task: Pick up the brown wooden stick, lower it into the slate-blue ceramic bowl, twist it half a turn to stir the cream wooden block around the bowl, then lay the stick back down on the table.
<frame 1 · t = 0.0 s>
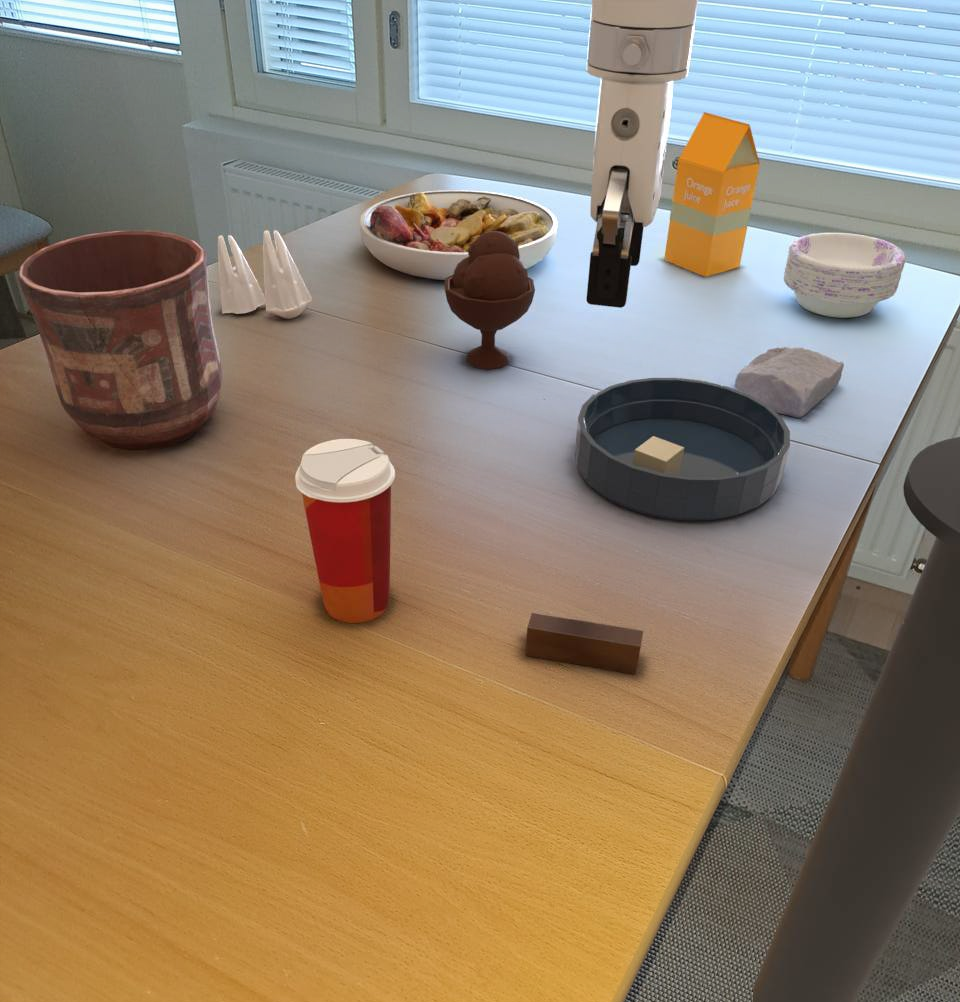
hand: (613, 283, 81), 21 cm above the table, tool pointing down, fingers open, 9 cm apart
brown wooden stick: (582, 657, 77), on the table
shaker set: (268, 315, 128), on the table
bowl 2: (458, 254, 147), on the table
paper bowls: (832, 307, 133), on the table
stone block: (782, 392, 113), on the table
ice cream bowl: (487, 361, 118), on the table
orange juice: (701, 264, 145), on the table
pottery: (152, 426, 104), on the table
paper cup: (356, 604, 82), on the table
block: (654, 479, 96), point 1 cm above the table, touching bowl
bowl: (675, 467, 99), on the table
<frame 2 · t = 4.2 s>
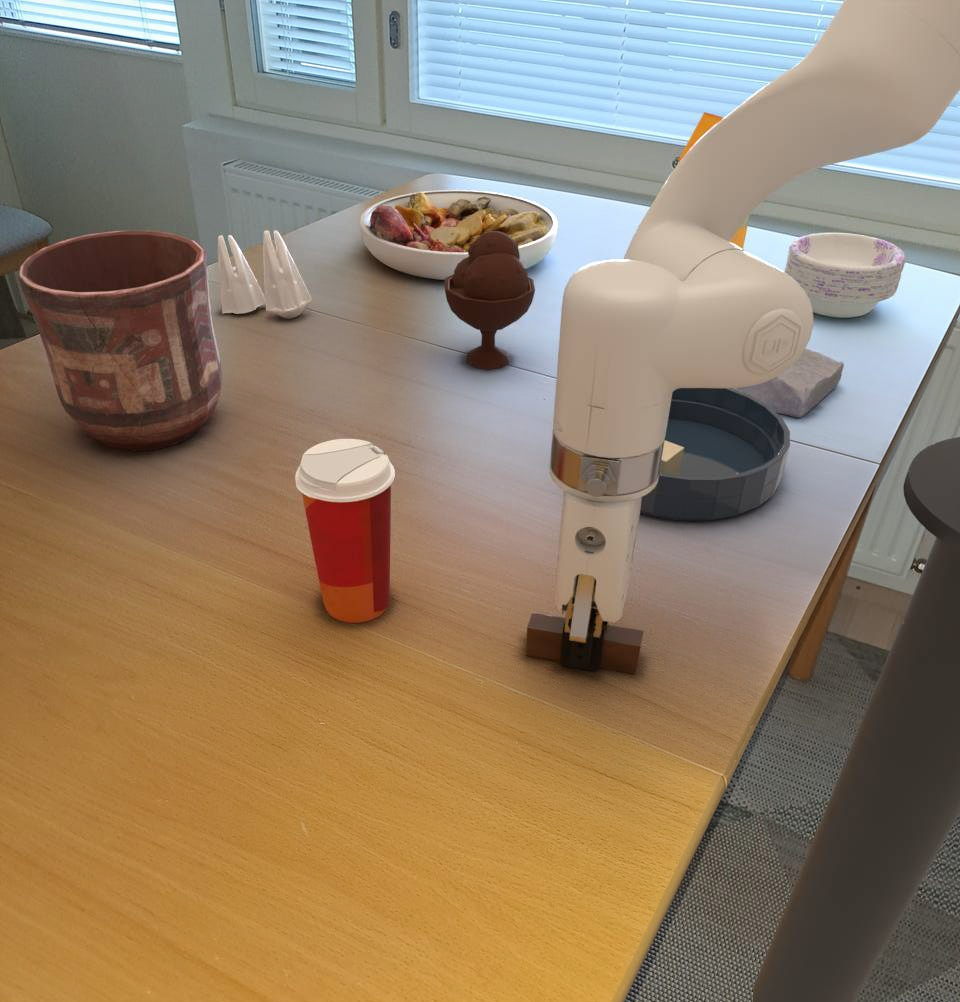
hand: (582, 653, 76), 0 cm above the table, tool pointing down, fingers closed on brown wooden stick, 2 cm apart
brown wooden stick: (582, 656, 77), on the table, touching gripper
everything else where it was.
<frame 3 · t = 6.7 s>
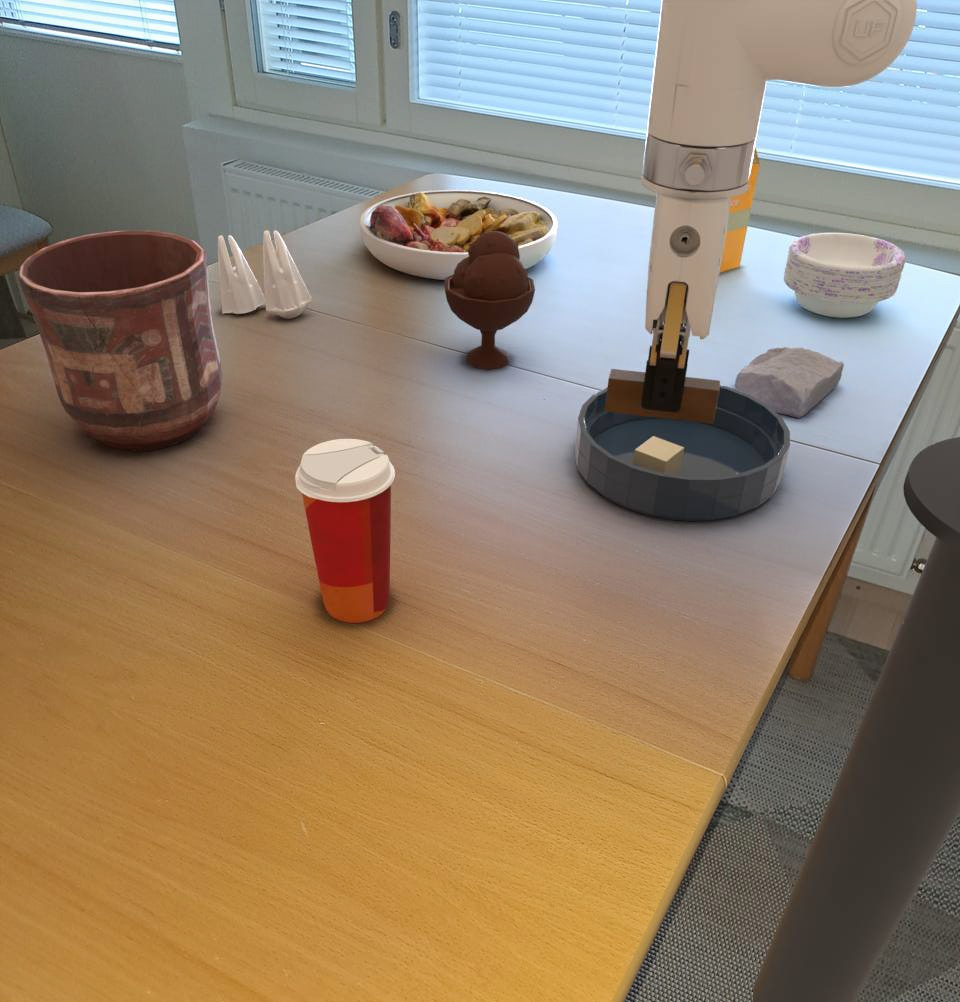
hand: (661, 399, 79), 15 cm above the table, tool pointing down, fingers closed on brown wooden stick
brown wooden stick: (659, 412, 79), point 14 cm above the table, touching gripper
everything else where it was.
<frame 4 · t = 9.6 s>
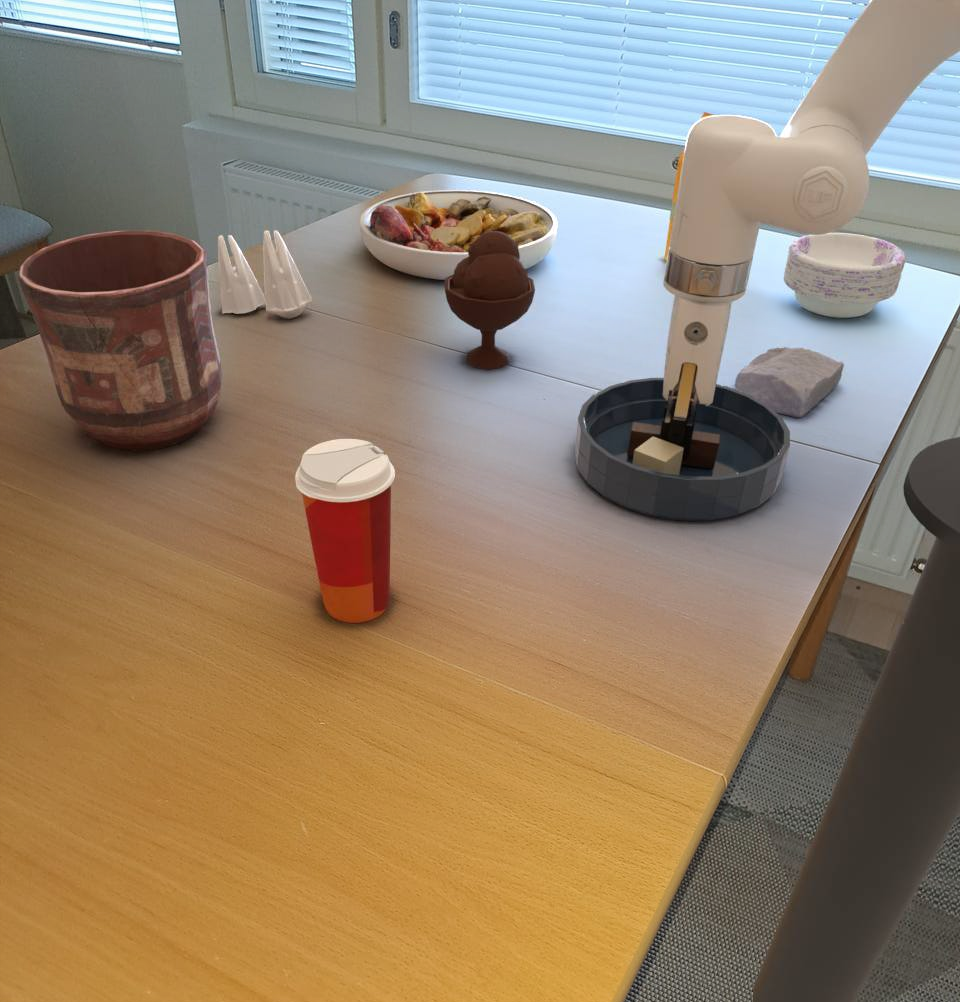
hand: (673, 448, 98), 2 cm above the table, tool pointing down, fingers closed on brown wooden stick, 2 cm apart
brown wooden stick: (670, 458, 99), point 1 cm above the table, touching gripper
block: (654, 479, 96), point 1 cm above the table, touching bowl, gripper
everything else where it was.
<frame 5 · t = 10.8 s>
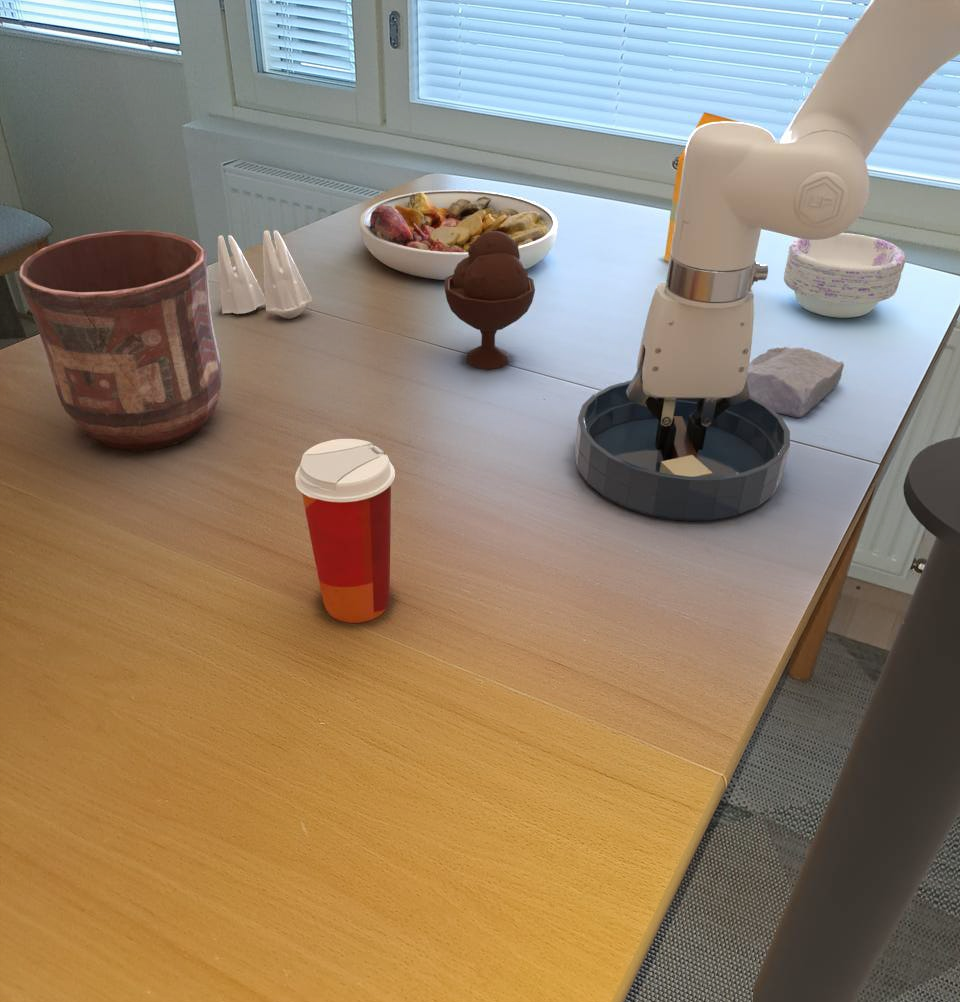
hand: (677, 453, 98), 2 cm above the table, tool pointing down, fingers closed on brown wooden stick, 2 cm apart
brown wooden stick: (675, 462, 99), point 1 cm above the table, touching gripper
block: (680, 498, 94), point 1 cm above the table, touching bowl
everything else where it was.
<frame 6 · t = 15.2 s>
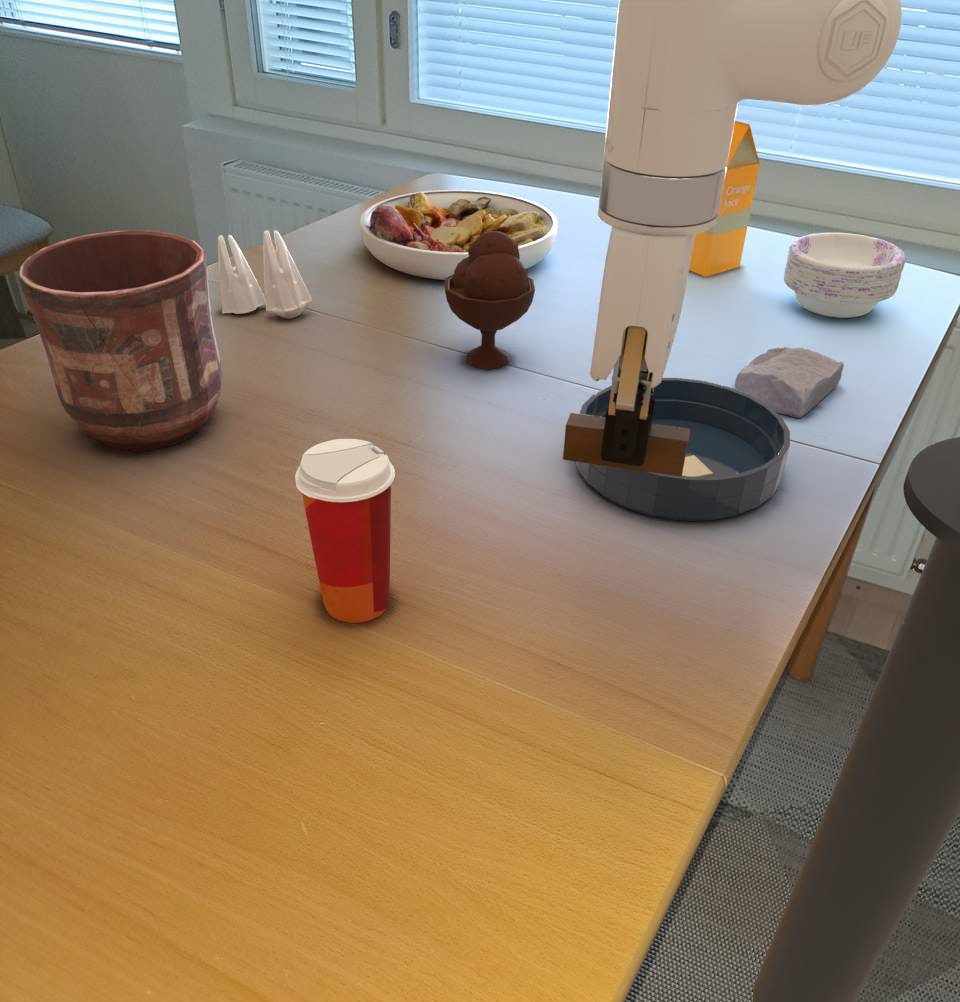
hand: (624, 451, 71), 15 cm above the table, tool pointing down, fingers closed on brown wooden stick
brown wooden stick: (623, 462, 72), point 15 cm above the table, touching gripper
everything else where it was.
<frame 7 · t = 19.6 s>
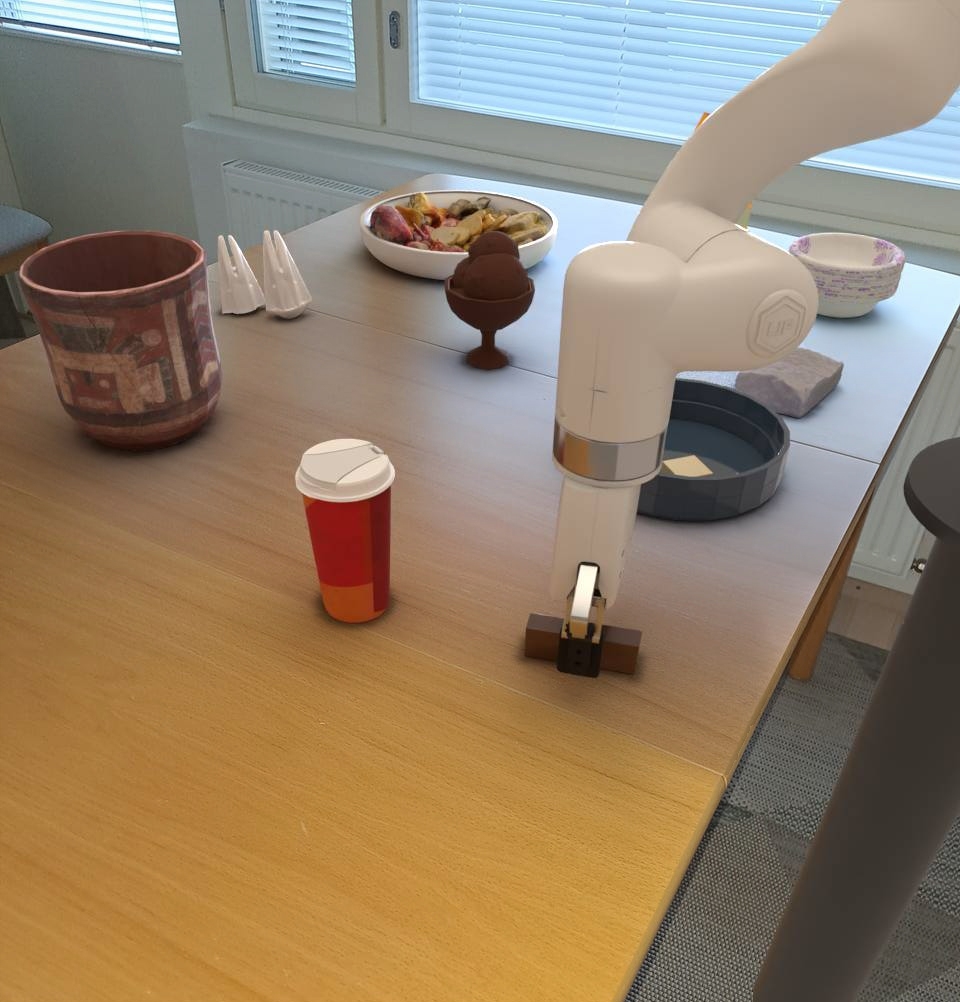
hand: (587, 631, 75), 3 cm above the table, tool pointing down, fingers open, 9 cm apart
brown wooden stick: (580, 657, 77), on the table
everything else where it was.
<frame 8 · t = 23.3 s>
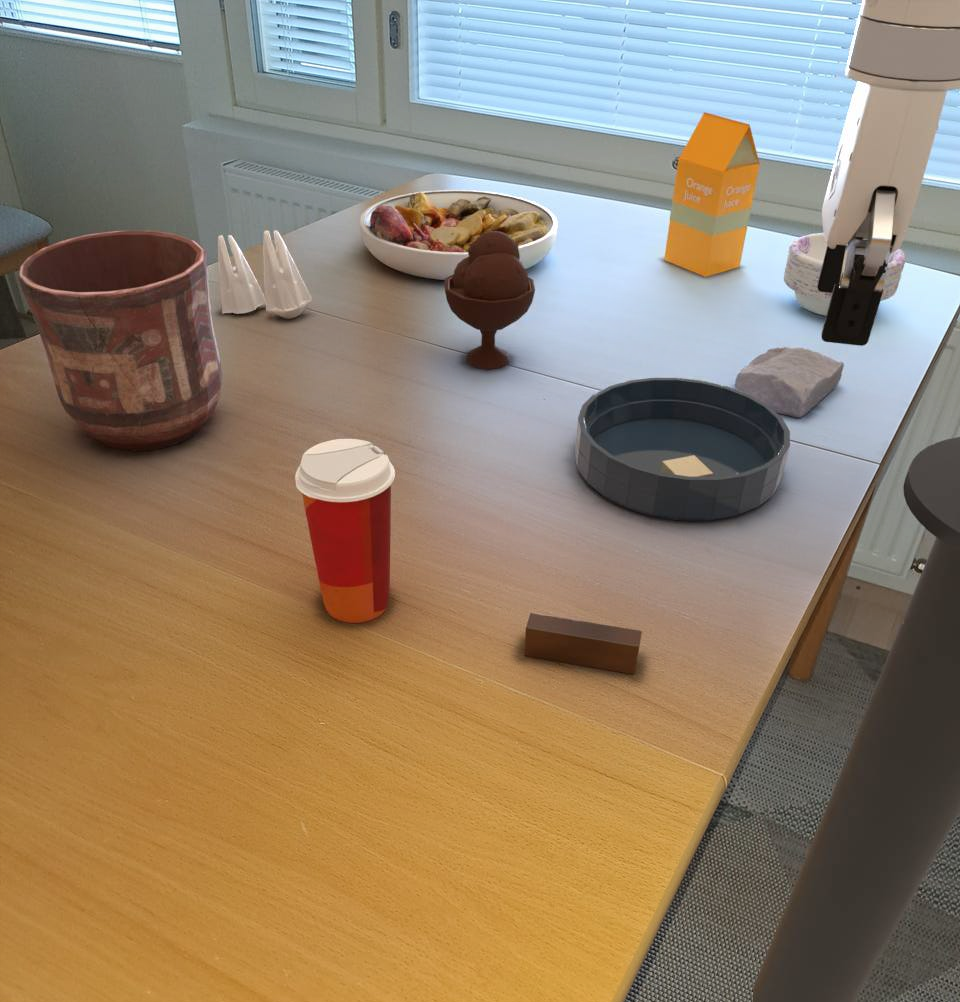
hand: (840, 315, 71), 23 cm above the table, tool pointing down, fingers open, 9 cm apart
nothing on the table moved.
at the end: block moved 4.1 cm from its start; block inside the target area in the bowl (7.1 cm from its centre), point 0.6 cm above the bowl's base; brown wooden stick inside the target area (0.1 cm from its centre), on the table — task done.
